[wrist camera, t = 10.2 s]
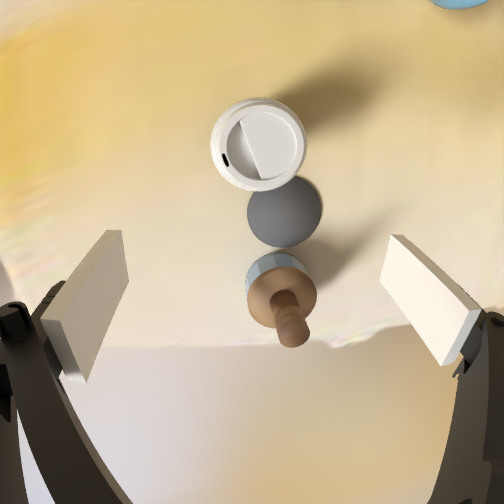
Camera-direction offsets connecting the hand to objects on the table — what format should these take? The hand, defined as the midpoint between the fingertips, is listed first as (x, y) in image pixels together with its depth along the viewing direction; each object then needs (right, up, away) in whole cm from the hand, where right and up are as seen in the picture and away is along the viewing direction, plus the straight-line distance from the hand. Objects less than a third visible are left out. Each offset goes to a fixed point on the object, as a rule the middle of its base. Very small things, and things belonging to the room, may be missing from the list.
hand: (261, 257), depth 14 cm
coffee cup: (-1, +16, +26) cm, 31 cm away
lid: (+4, -6, +32) cm, 33 cm away
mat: (+4, +6, +31) cm, 32 cm away
